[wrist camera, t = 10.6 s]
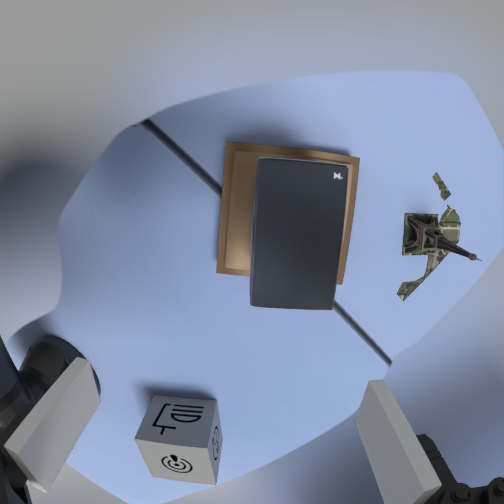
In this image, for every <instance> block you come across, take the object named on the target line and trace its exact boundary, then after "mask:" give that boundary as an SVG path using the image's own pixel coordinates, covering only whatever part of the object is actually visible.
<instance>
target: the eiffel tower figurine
mask: <svg viewBox="0 0 504 504" xmlns="http://www.w3.org/2000/svg"><path fill="white" fill-rule="evenodd" d="M432 178H433V179H434V181H435V182H436V184H438V186H439V190H441V198H442V199H443V200H444V201H445V200H446V199H447V198H448V197H449V196H450V195H451V193H450V192H449V190H448V189H447V187H446V186H445V184H444V183H443V181H442V180H441V178H440V177H439V175H438V174H437V173H436V174H435V175H434V176H433V177H432ZM447 207H448V209H447V210H446V211H445V212H444V214H443V215H442V217H441V220H440V222H439V224H438V214H414V213H405V218H404V234H403V247H402V255H428V263H427V268H426V271H425V274H424V276H423V277H422V278H420V279H418V280H416V281H413V282H404V283H402V285H401V287H400V288H399V290H398V293H397V294H398V296H399V297H400V298H401V299H402V300H403V301H404V300H405V299H406V298H407V297H408V296H409V295H410V294H411V293H412V292H413V291H414V290H415V289H416V288H417V287H418V286H419V285H420V284H421V283H422V282H423V281H424V280H425V278H426V277H427V276H428V275H429V274H430V273H431V272H432V271H433V270H434V269H435V268H436V267H437V266H438V265H439V264H440V262H441V261H442V260H443V259H444V258H445V257H446V256H447V255H448V253H449V252H453V253H457V254H459V255H462V256H465V257H468V258H470V260H476V259H477V257H476V255H475V254H471V253H469V252H468V251H466V250H464V249H462V248H460V247H459V246H457V245H456V244H457V243H458V242H459V234H460V225H461V223H460V219H459V216H458V214H457V213H456V212H455V210H454V209H452V208H450V206H448V205H447ZM477 260H479V259H477ZM480 261H481V260H480Z"/></svg>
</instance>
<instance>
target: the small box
mask: <svg viewBox="0 0 504 504" xmlns="http://www.w3.org/2000/svg"><path fill="white" fill-rule="evenodd" d="M348 174H349V167H348V165H347V164H344V163H332V162H323V161H315V160H301V159H291V158H279V157H263V156H262V157H259V158H258V165H257V172H256V180H255V190H254V201H253V213H252V226H251V253H250V305H251V306H256V307H266V308H284V309H304V310H332V309H333V303H334V297H335V291H336V284H337V277H338V271H339V263H340V256H341V249H342V240H343V231H344V221H345V212H346V201H347V187H348Z"/></svg>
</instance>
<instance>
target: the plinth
mask: <svg viewBox="0 0 504 504" xmlns="http://www.w3.org/2000/svg"><path fill="white" fill-rule="evenodd" d="M262 156H263V157H279V158H291V159H301V160H315V161H323V162H332V163H344V164H347V165H348V167H349V174H348V187H347V201H346V212H345V221H344V231H343V240H342V249H341V256H340V263H339V271H338V277H337V284H341V285H342V283H343V278H344V272H345V266H346V261H347V255H348V249H349V243H350V236H351V229H352V222H353V215H354V208H355V200H356V191H357V182H358V173H359V162H360V158H357V157H352V156H346V155H340V154H334V153H327V152H321V151H314V150H307V149H299V148H291V147H282V146H273V145H263V144H252V143H240V142H227V143H226V154H225V164H224V175H223V187H222V199H221V212H220V225H219V239H218V254H217V269H216V273H221V274H231V275H241V276H250V253H251V226H252V213H253V201H254V190H255V180H256V172H257V165H258V158H259V157H262Z"/></svg>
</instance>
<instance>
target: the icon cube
mask: <svg viewBox="0 0 504 504" xmlns="http://www.w3.org/2000/svg"><path fill="white" fill-rule="evenodd" d="M134 439H135V441H136V444H137V446H138V448H139V450H140V452H141V454H142V457H143V459H144V461H145V463H146V465H147V467H148V469H149V471H150V473H151V475H152V476H153V477H158V478H164V479H170V480H177V481H184V482H192V483H201V484H212V485H216V482H217V475H218V468H219V461H220V455H221V448H222V441H223V439H222V432H221V426H220V419H219V412H218V405H217V400H209V399H193V398H180V397H169V396H160V395H154V397H153V399H152V401H151V403H150V405H149V408H148V410H147V412H146V414H145V416H144V418H143V421H142V423H141V425H140V427H139V429H138V432H137V434H136V436H135V438H134Z"/></svg>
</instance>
